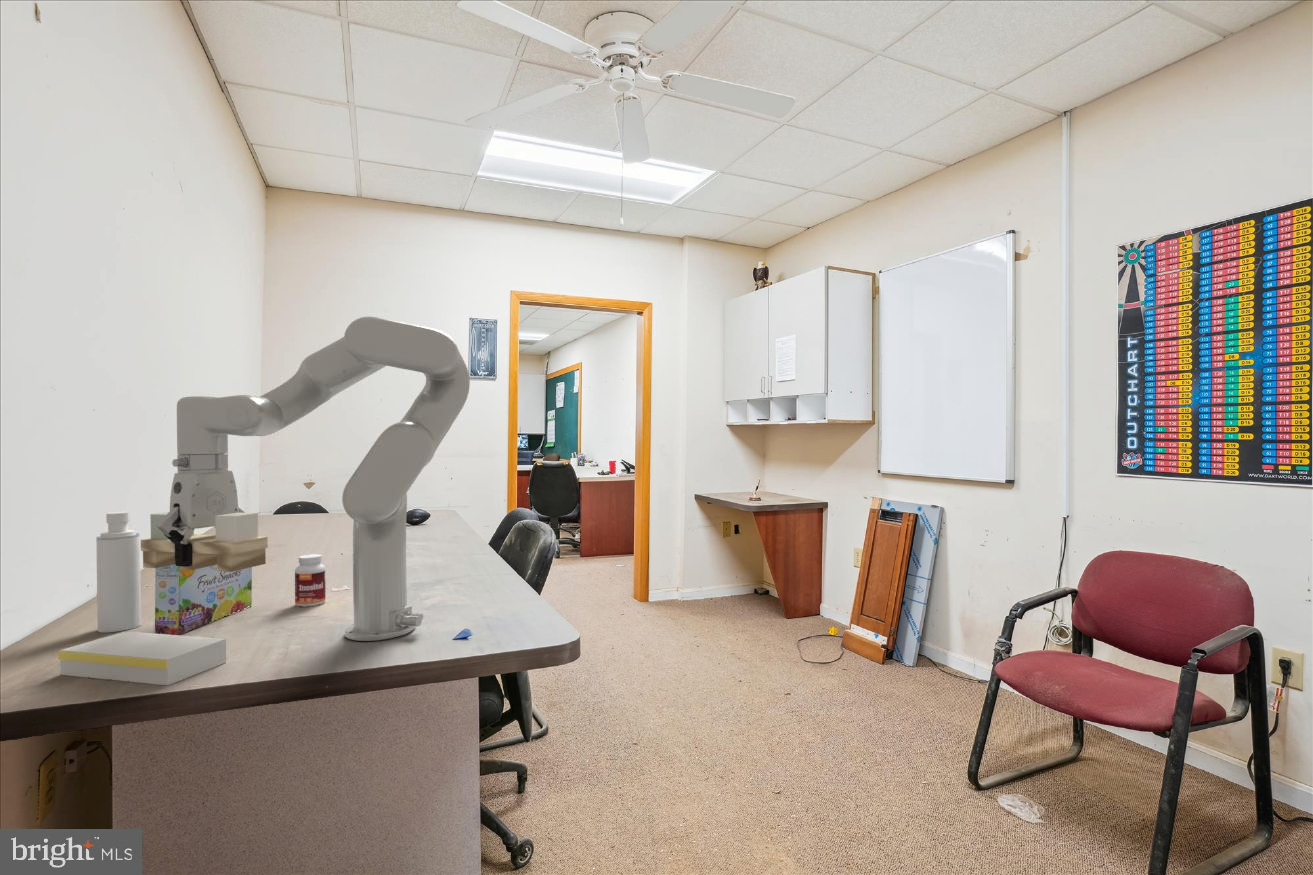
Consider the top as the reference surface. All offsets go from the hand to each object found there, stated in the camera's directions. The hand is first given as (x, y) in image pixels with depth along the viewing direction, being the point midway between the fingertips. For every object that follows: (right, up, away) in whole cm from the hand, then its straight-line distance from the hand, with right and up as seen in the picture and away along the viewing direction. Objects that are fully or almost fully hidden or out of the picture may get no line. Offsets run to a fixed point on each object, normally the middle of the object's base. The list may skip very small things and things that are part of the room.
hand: (204, 560), depth 115 cm
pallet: (0, -1, 0) cm, 1 cm away
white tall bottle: (-27, -16, +13) cm, 34 cm away
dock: (-2, -16, -11) cm, 19 cm away
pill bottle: (+3, -16, +29) cm, 33 cm away
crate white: (+7, +4, -2) cm, 9 cm away
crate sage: (-7, +4, +2) cm, 9 cm away
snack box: (-12, -16, +18) cm, 27 cm away
